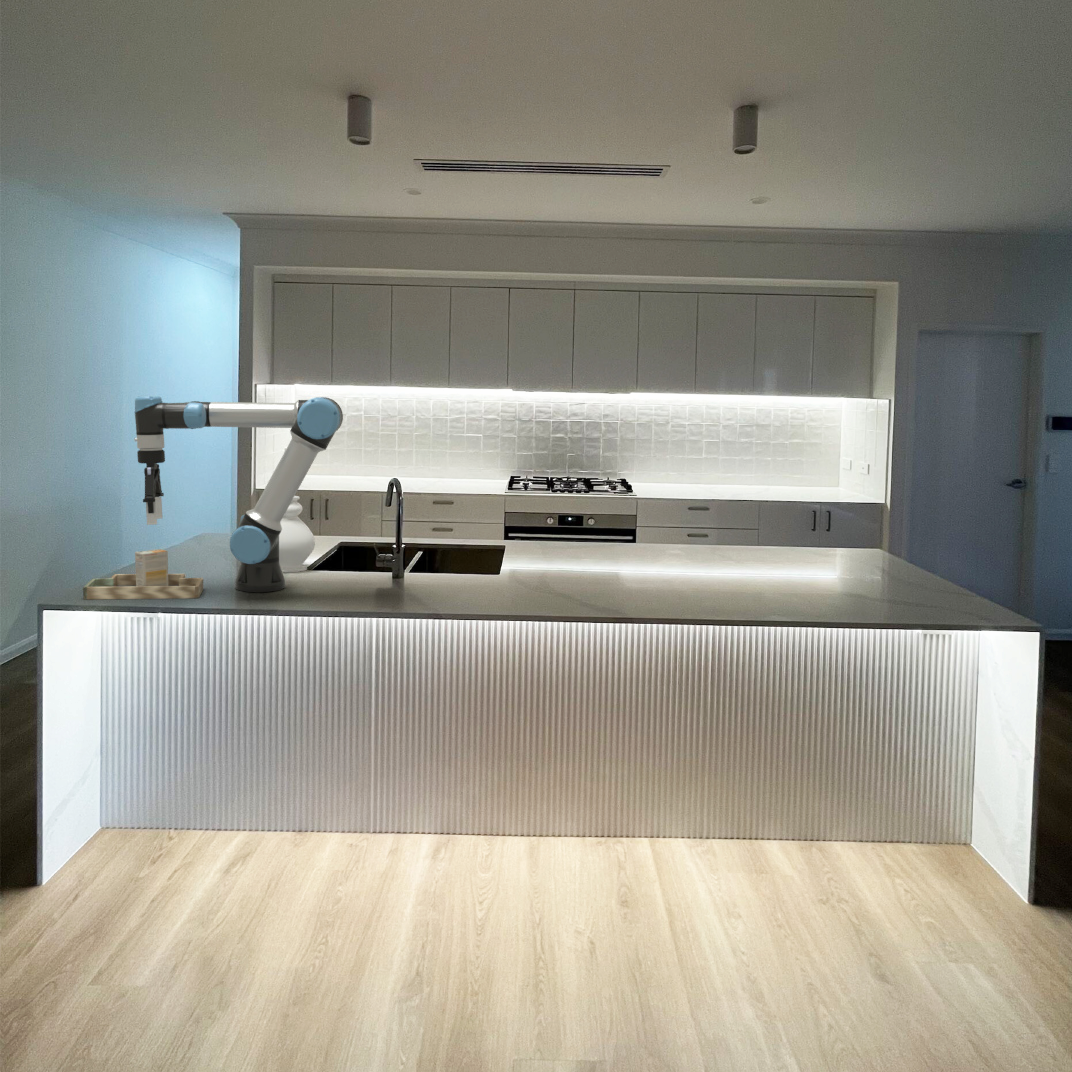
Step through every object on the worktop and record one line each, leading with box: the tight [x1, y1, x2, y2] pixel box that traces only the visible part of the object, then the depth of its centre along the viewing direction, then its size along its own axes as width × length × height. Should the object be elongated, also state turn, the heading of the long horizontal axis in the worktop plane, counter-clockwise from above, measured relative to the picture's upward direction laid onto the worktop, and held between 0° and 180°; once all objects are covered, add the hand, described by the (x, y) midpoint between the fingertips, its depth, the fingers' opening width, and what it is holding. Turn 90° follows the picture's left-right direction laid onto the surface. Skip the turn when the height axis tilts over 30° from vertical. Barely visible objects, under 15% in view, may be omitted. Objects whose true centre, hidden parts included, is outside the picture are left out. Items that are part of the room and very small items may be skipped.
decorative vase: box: [279, 495, 316, 573], centre depth 368 cm, size 18×18×25 cm
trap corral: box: [82, 573, 204, 600], centre depth 325 cm, size 32×21×4 cm, turn 102°
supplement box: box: [134, 548, 169, 586], centre depth 321 cm, size 8×5×13 cm, turn 141°
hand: (155, 521), depth 317 cm, fingers open, 13 cm apart
